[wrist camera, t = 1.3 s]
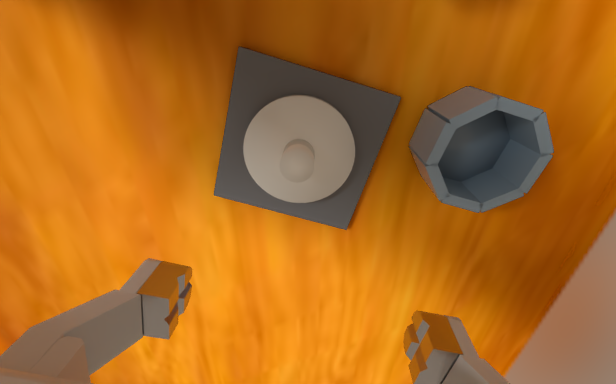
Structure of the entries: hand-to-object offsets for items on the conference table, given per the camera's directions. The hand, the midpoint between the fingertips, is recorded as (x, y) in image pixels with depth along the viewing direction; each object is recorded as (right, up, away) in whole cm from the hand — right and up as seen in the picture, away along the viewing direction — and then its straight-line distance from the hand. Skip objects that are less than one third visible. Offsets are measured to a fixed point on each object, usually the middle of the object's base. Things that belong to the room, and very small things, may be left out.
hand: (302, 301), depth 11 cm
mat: (-1, +8, +18) cm, 20 cm away
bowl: (+14, +9, +17) cm, 24 cm away
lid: (-1, +8, +17) cm, 19 cm away
